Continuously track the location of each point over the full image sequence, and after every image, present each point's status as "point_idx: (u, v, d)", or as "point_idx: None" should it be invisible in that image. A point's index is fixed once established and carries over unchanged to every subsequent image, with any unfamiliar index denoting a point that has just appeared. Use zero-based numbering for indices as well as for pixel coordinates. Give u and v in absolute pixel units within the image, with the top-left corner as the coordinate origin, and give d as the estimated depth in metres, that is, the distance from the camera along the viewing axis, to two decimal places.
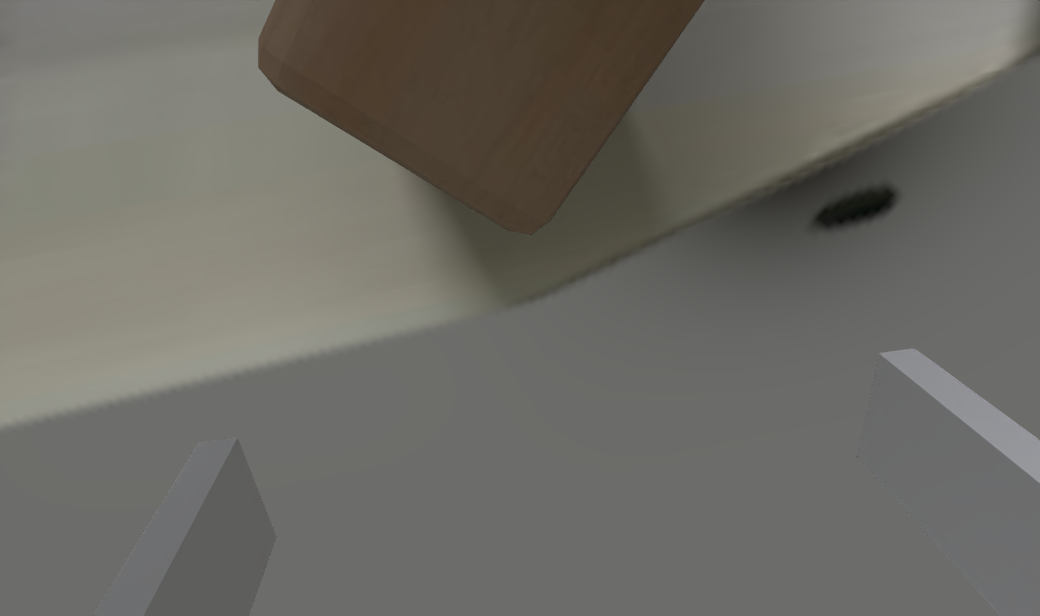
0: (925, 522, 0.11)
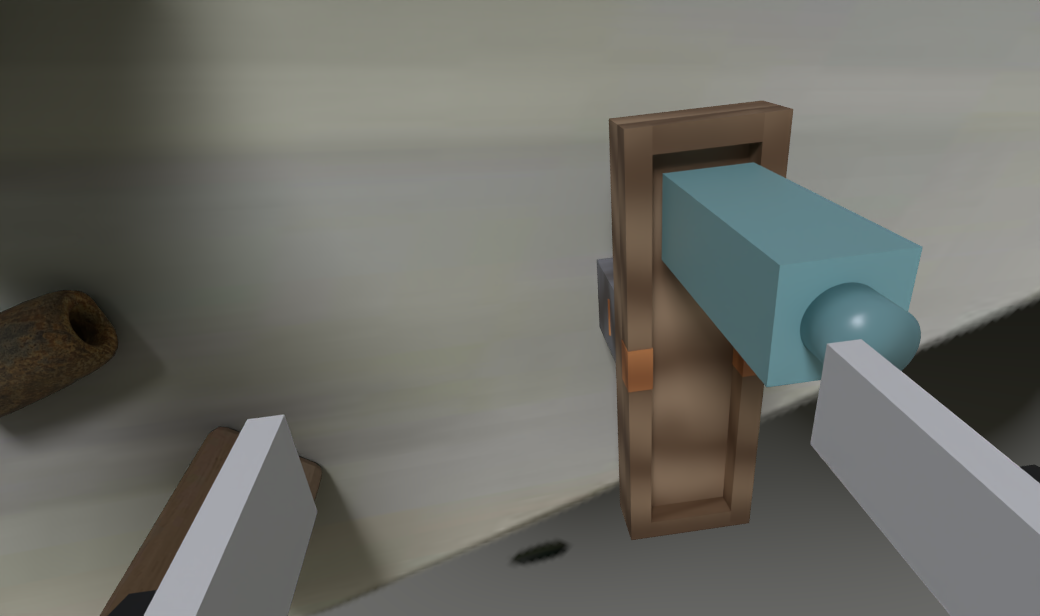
0: (868, 505, 0.12)
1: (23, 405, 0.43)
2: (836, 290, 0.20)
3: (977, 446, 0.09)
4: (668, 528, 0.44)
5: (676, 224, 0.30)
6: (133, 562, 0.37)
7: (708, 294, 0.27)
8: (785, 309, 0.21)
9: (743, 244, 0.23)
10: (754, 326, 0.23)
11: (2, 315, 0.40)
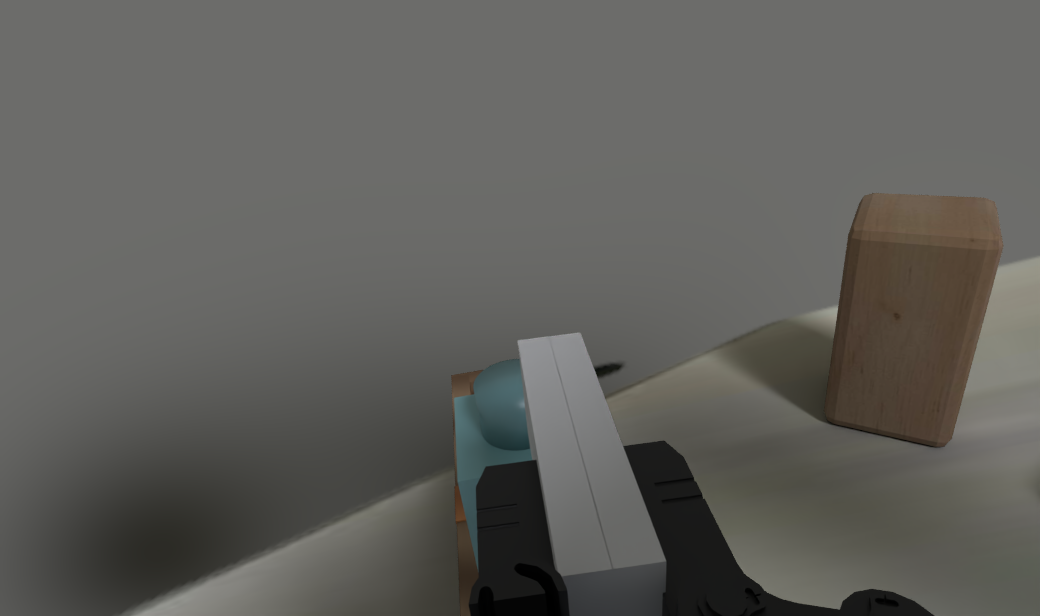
0: None
1: None
2: None
3: (602, 423, 0.11)
4: None
5: None
6: (985, 307, 0.45)
7: None
8: None
9: None
10: None
11: None
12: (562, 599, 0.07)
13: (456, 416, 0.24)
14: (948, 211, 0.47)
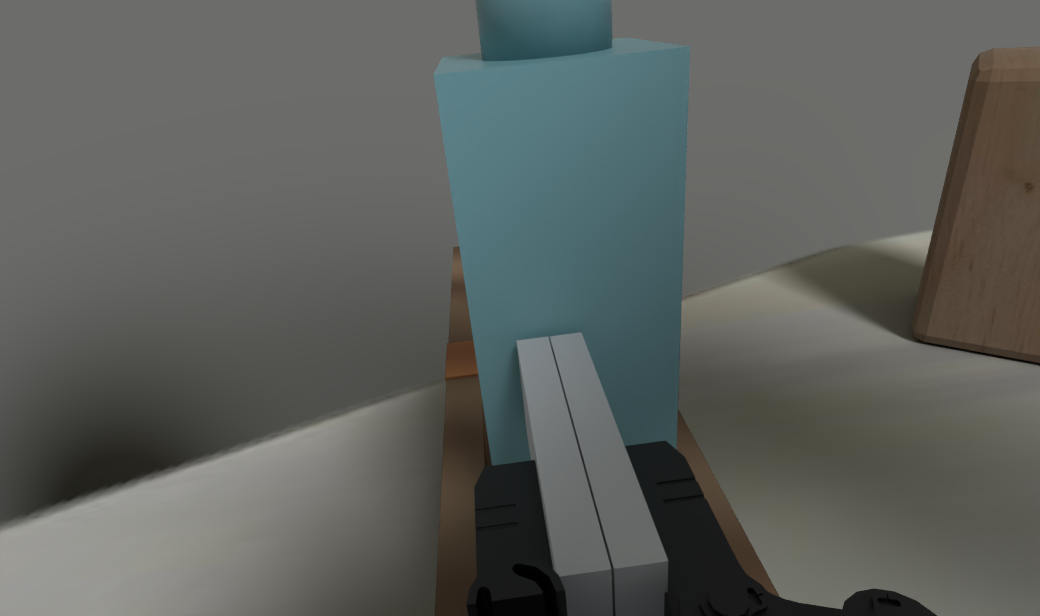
0: None
1: None
2: (578, 42, 0.12)
3: (603, 423, 0.11)
4: None
5: None
6: None
7: None
8: (645, 44, 0.13)
9: (680, 184, 0.13)
10: None
11: None
12: (560, 599, 0.07)
13: (443, 60, 0.15)
14: None
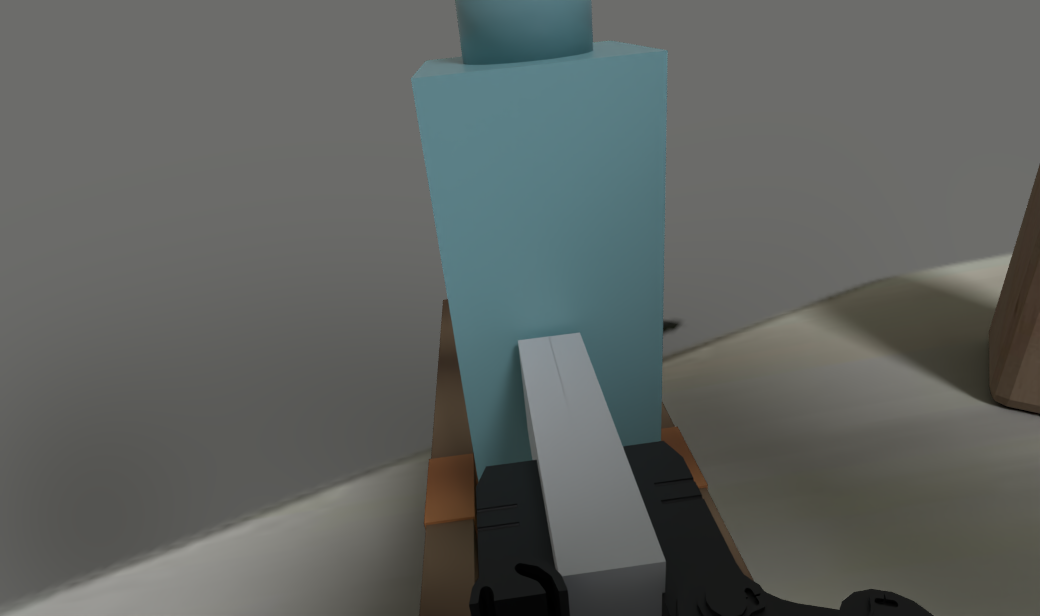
0: None
1: None
2: (557, 45, 0.12)
3: (601, 423, 0.11)
4: None
5: None
6: None
7: None
8: (624, 47, 0.13)
9: (661, 187, 0.13)
10: None
11: None
12: (563, 599, 0.07)
13: (425, 63, 0.15)
14: None
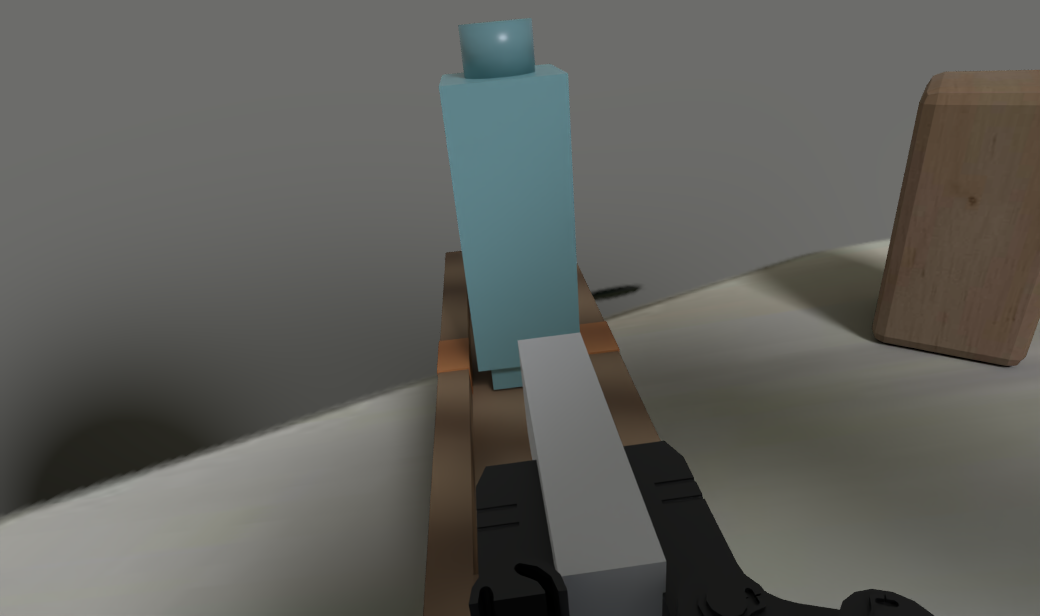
0: None
1: None
2: (514, 69, 0.24)
3: (601, 423, 0.11)
4: None
5: None
6: None
7: None
8: (551, 70, 0.24)
9: (570, 145, 0.24)
10: None
11: None
12: (562, 599, 0.07)
13: (443, 77, 0.26)
14: None
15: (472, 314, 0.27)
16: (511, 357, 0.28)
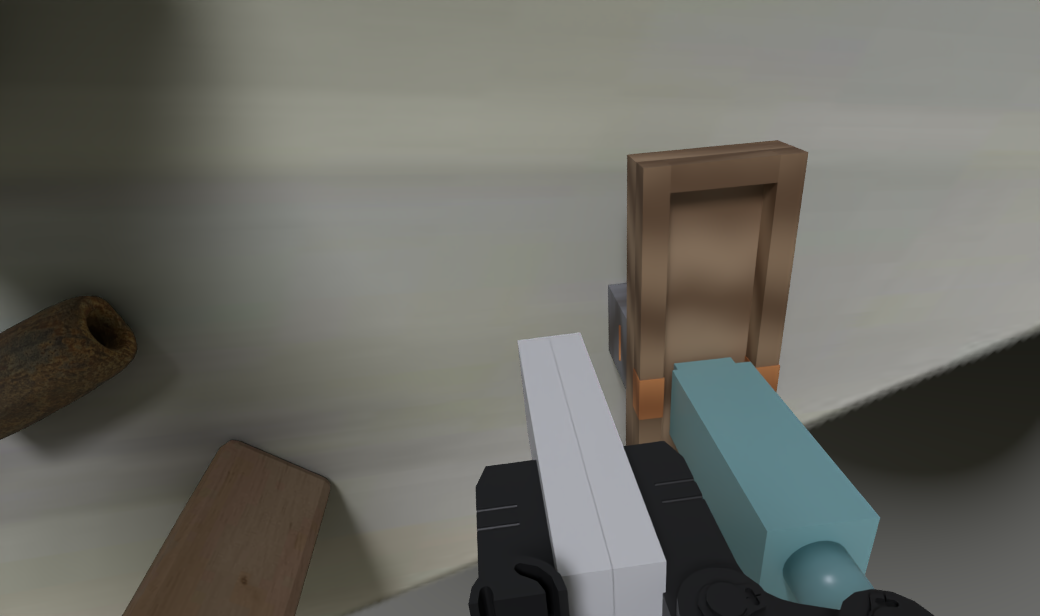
0: None
1: (49, 412, 0.43)
2: (811, 548, 0.26)
3: (602, 423, 0.11)
4: None
5: (683, 420, 0.36)
6: (148, 577, 0.38)
7: (709, 498, 0.32)
8: (771, 558, 0.26)
9: (739, 489, 0.28)
10: (746, 556, 0.28)
11: (22, 324, 0.40)
12: (562, 599, 0.07)
13: None
14: None
15: (771, 389, 0.34)
16: (728, 369, 0.37)
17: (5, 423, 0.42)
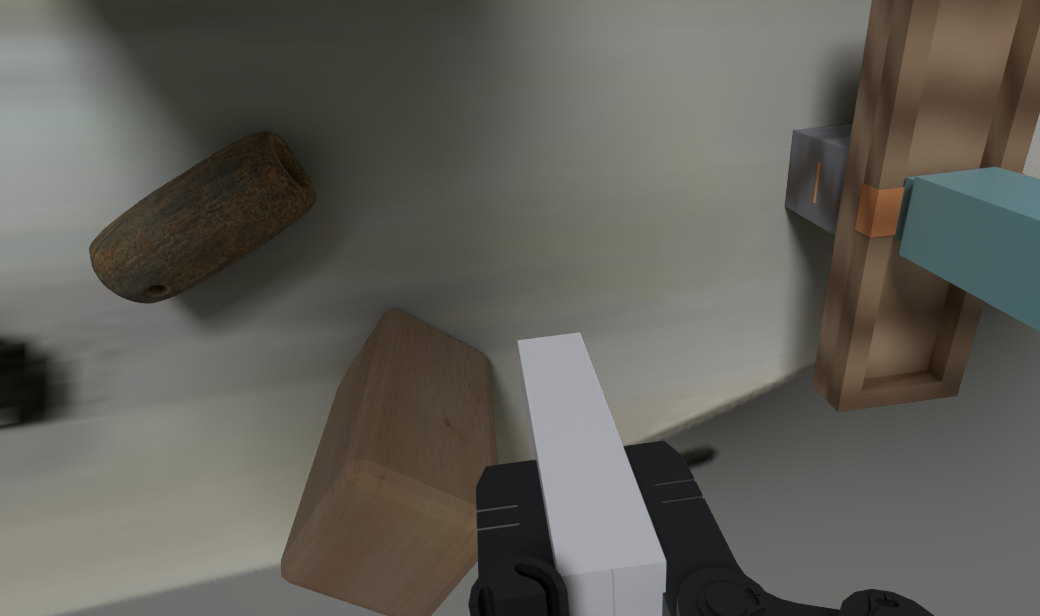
0: None
1: (231, 260, 0.41)
2: None
3: (601, 424, 0.11)
4: (877, 399, 0.43)
5: (936, 221, 0.34)
6: (362, 408, 0.36)
7: (993, 283, 0.31)
8: None
9: None
10: None
11: (210, 157, 0.39)
12: (562, 599, 0.07)
13: None
14: (365, 549, 0.33)
15: None
16: (977, 171, 0.35)
17: (191, 268, 0.40)
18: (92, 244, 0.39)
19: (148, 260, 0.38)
